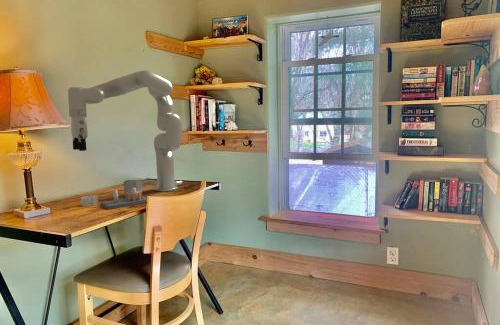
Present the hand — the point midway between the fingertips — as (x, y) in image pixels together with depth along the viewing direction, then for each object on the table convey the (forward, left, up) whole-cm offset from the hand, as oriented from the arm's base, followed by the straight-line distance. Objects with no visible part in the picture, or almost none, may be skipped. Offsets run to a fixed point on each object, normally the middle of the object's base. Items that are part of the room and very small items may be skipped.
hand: (79, 150), depth 180 cm
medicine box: (-23, +4, -26) cm, 35 cm away
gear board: (-14, +16, -26) cm, 34 cm away
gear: (-1, +4, -26) cm, 26 cm away
